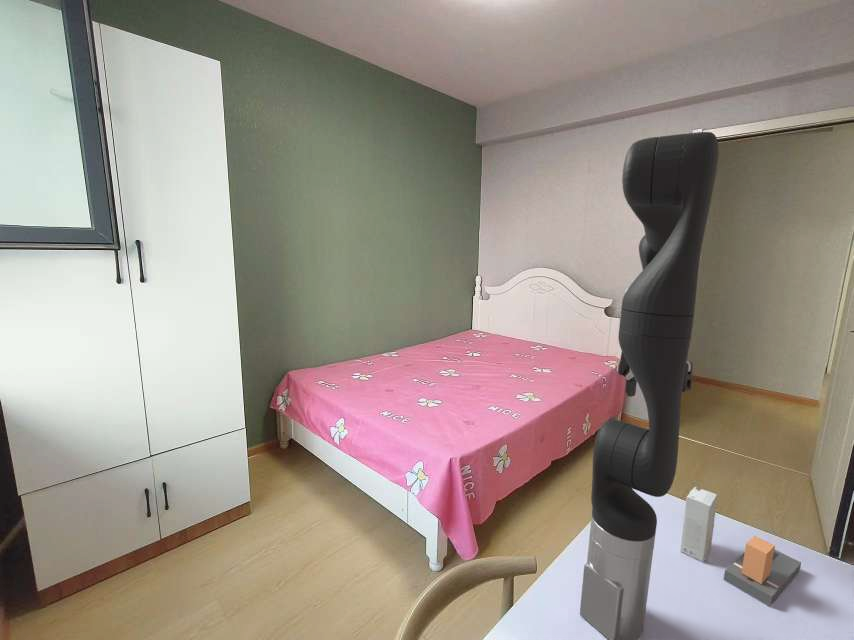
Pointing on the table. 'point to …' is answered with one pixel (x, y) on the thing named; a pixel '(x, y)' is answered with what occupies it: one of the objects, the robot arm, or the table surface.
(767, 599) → the fader console
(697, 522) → the skincare box
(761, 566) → the fader tab
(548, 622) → the table surface
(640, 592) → the robot arm
